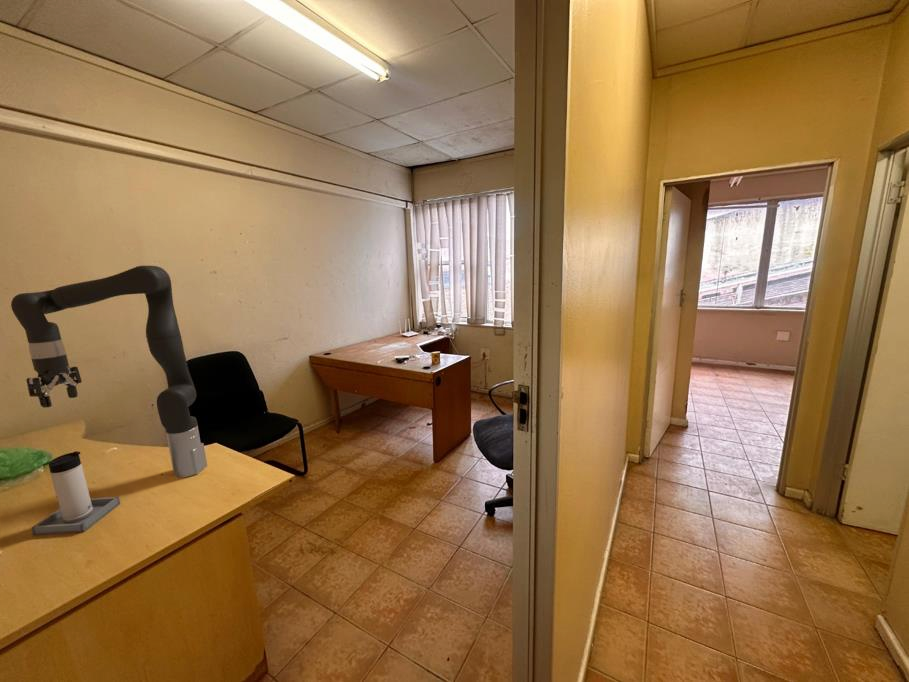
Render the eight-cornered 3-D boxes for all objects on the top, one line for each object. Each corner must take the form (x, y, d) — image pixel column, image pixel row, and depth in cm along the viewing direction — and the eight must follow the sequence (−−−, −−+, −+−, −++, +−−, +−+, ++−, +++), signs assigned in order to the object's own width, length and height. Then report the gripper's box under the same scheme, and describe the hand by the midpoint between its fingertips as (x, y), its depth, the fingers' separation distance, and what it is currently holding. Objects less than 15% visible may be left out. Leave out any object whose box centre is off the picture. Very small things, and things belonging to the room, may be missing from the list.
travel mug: (99, 511, 109) (85, 452, 105) (71, 526, 103) (54, 464, 99) (87, 507, 111) (72, 449, 107) (58, 521, 105) (42, 460, 101)
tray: (120, 503, 113) (118, 496, 113) (84, 532, 101) (82, 524, 101) (75, 506, 112) (73, 499, 112) (33, 535, 100) (30, 527, 100)
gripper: (37, 360, 107) (51, 410, 110) (82, 349, 120) (92, 394, 124) (10, 360, 106) (24, 411, 109) (58, 350, 120) (69, 394, 123)
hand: (60, 402), depth 116 cm, fingers open, 8 cm apart
